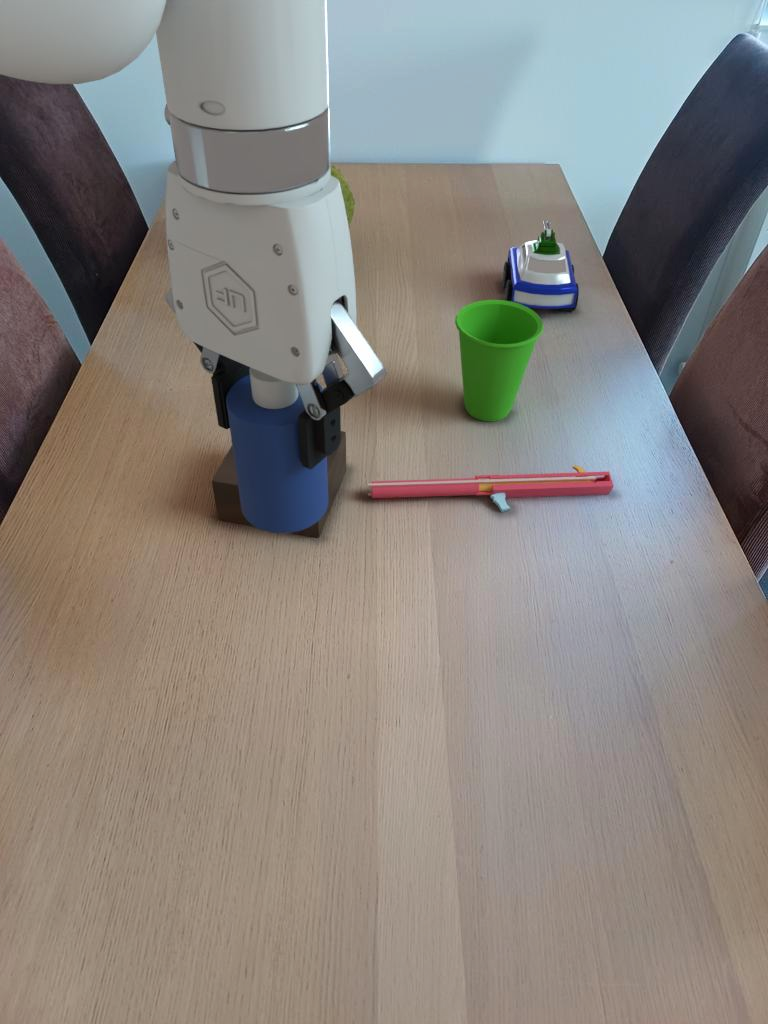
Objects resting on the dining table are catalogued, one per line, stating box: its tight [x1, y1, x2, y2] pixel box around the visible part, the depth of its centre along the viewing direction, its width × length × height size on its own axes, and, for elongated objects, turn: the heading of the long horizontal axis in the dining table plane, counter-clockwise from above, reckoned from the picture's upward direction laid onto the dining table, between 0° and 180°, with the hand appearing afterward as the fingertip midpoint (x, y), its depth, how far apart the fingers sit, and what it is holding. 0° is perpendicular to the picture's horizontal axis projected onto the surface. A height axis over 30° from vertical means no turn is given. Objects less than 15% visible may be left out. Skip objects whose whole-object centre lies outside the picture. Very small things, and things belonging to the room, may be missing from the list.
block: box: [211, 430, 347, 539], centre depth 77 cm, size 10×10×5 cm
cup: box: [454, 299, 544, 422], centre depth 86 cm, size 9×9×11 cm
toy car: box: [502, 220, 580, 312], centre depth 105 cm, size 9×12×10 cm
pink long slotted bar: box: [367, 465, 614, 513], centre depth 79 cm, size 24×2×5 cm
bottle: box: [226, 367, 328, 534], centre depth 52 cm, size 6×6×11 cm
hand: (278, 434), depth 51 cm, fingers closed on bottle, 6 cm apart
